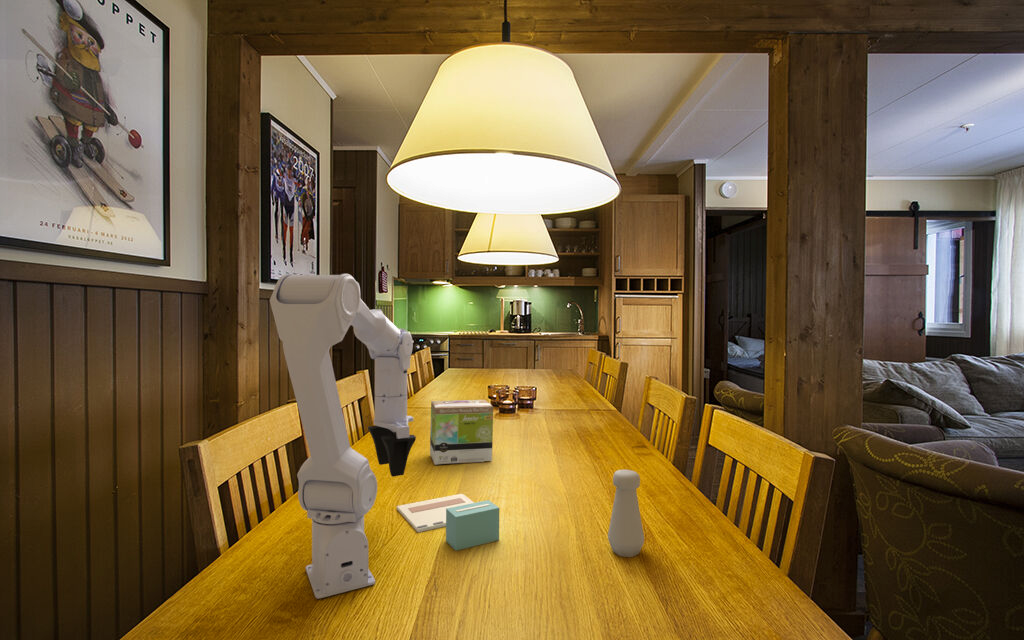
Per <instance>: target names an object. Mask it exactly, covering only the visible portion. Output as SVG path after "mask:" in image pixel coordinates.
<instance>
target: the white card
mask: <svg viewBox="0 0 1024 640" xmlns="http://www.w3.org/2000/svg"><path fill="white" fill-rule="evenodd" d="M471 503H475V502H474V501H473V500H472V499H471V498H469V497H468V496H466V495H465V494H463V493H458V494H457V493H456V494H453V495H447V496H443V497H438V498H432V499H427V500H421V501H416V502H410V503H405V504H401V505H396V510H397V511H398V512H399V513H400V514H401V516H402V517H403V518H404V519H405V520H406V521H407V522H408V523H409V524H410V525H411V527H412V528H413V529H414V530H415V531H416V532H417V533H422V532H426V531H431V530H435V529H440V528H444V527H445V528H446V509H447V508H452V507H457V506H462V505H467V504H471Z"/></svg>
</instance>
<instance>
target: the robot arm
mask: <svg viewBox="0 0 1024 640" xmlns="http://www.w3.org/2000/svg"><path fill="white" fill-rule="evenodd" d="M272 291H273V292H272V294H271V296H270V299H269V303H270V308H271V311H272V315H273V319H274V322H275V326H276V330H277V334H278V338H279V339H280V341H282V349H283V354H284V359H285V361H286V367H287V370H288V373H289V378H290V381H291V386H292V391H293V393H294V397H295V401H296V404H297V409H298V411H299V412H298V413H299V416H300V421H301V424H302V427H303V431H304V436H305V440H306V443H307V447H308V450H309V451H308V452H309V455H310V456H309V457H308V458H307V459H305V461H304V462H303V463H302V464H301V466H300V468H299V470H298V472H297V474H296V476H297V479H298V489H297V490H298V491H297V494H298V495H297V496H298V497H297V498H298V502H299V505H300V507H301V509H303V511H305V512H307V513H306V514H307V515H306V516H307V517H306V518H307V519H311V539H312V540H311V541H312V542H311V559H312V560H311V562H312V563H311V564H308V565H306V566H305V571H306V574H307V577H308V581H309V583H310V585H311V588H312V592H313V595H314V597H315V599H319V600H320V599H322V598H323V599H324V598H326V597H331V596H336V595H338V594H343V593H346V592H351V591H353V590H357V589H361V588H365V587H368V586H373V585H375V584H376V579H375V577H374V575H373V574H372V572H371V570H370V569H369V539H368V538H367V536H366V533H365V516H366V515H367V513H369V512H370V510H372V508H373V506H374V504H375V501H376V499H377V495H378V494H377V493H378V480H377V476H376V474H375V473H374V472H373V470H372V469H371V466H370V462H369V459H368V458H366V457H365V456H364V455H363V454H361V453H359V452H357V450H355V449H353V448H352V447H351V445H350V440H349V436H348V431H347V426H346V423H345V422H346V421H345V416H344V413H343V409H342V404H341V400H340V395H339V390H338V386H337V382H336V376H335V371H334V367H333V362H332V359H331V355H330V350H331V347H333V346H335V345H336V344H338V343H341V342H342V341H343V340H344V338H345V335H346V334H347V332H348V330H349V328H350V327H351V326H352V327H353V333H354V336H355V337H356V338H357V340H359V341H360V342H361V343H363V344H364V345H365V346H366V348H367V349H368V353H369V354H368V355H369V356H370V359H372V360H374V418H373V425H369V426H368V427H367V429H368V432H369V434H370V436H371V438H372V440H373V443H374V449H375V453H376V458H377V461H378V464H379V465H380V466H383V465H388V467H389V468H388V469H389V474H390V476H391V477H399V476H400V477H401V476H403V475H404V474H405V470H406V466H407V463H408V458H409V454H410V453H411V449H412V448H413V446H414V444H415V442H416V438H417V436H416V435H414V434H410V426H409V423H410V422H414V417H413V416H412V415H408V370H409V369H410V367H411V356H412V352H413V347H414V343H413V337H412V334H411V333H410V332H409V331H407V330H406V329H405V328H398V327H397V326H396V325H395V323H393V322H392V321H391V320H390V319H389V318H388V317H387V316H386V315H385V314H384V311H382V309H380V308H378V309H376V308H375V309H374V308H373V309H370V308H369V306H367V304H366V303H365V302H364V301H363V300H362V298H361V287H360V283H359V282H358V281H356V279H355V278H354V276H352V275H351V274H349V273H341V274H329V275H328V274H307V275H306V274H304V275H303V274H300V275H299V274H293V273H287V274H283V275H282V276H280V278H279V279H278V280H277V282H276V284H275V286H274V289H273V290H272Z"/></svg>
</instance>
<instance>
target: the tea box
mask: <svg viewBox="0 0 1024 640" xmlns="http://www.w3.org/2000/svg"><path fill="white" fill-rule="evenodd" d="M430 404H431V405H430V428H429V429H430V435H429V437H430V438H429V439H430V440H429V455H430V457H431V459H432V462H433V464H434V466H437V465H445V464H448V465H449V464H464V463H465V464H467V463H471V464H472V463H485V462H484V461H491V462H492V461H493V443H494V442H493V436H494V435H493V434H494V433H493V431H494V430H493V427H494V406H493V405H492V404H491V403H490V402H488V401H487V400H486V399H468V400H467V399H466V400H465V399H462V400H455V399H454V400H431V403H430Z"/></svg>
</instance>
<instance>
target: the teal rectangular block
mask: <svg viewBox="0 0 1024 640" xmlns="http://www.w3.org/2000/svg"><path fill="white" fill-rule="evenodd" d="M499 540H500V507H499V506H498V505H496V504H495V503H494V502H492V501H490V500H489V499H487V500H482V501H477V502H474V503H471V504H467V505H462V506H457V507H452V508H447V509H446V526H445V541H446V543H448V545H450V547H451V548H452V549H453V550H454V551H456V552H457V551H460V550H464V549H468V548H472V547H476V546H480V545H485V544H488V543H492V542H497V541H499Z"/></svg>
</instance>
